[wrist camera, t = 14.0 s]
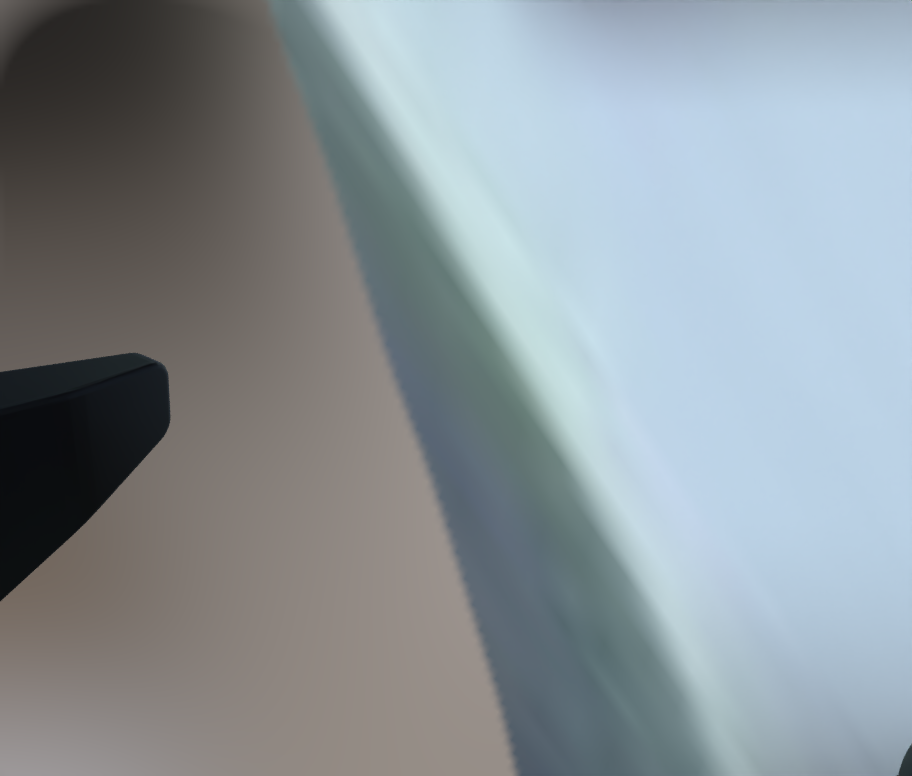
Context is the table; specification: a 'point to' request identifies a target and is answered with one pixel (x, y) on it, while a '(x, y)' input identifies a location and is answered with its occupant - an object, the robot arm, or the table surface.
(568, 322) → the table surface
